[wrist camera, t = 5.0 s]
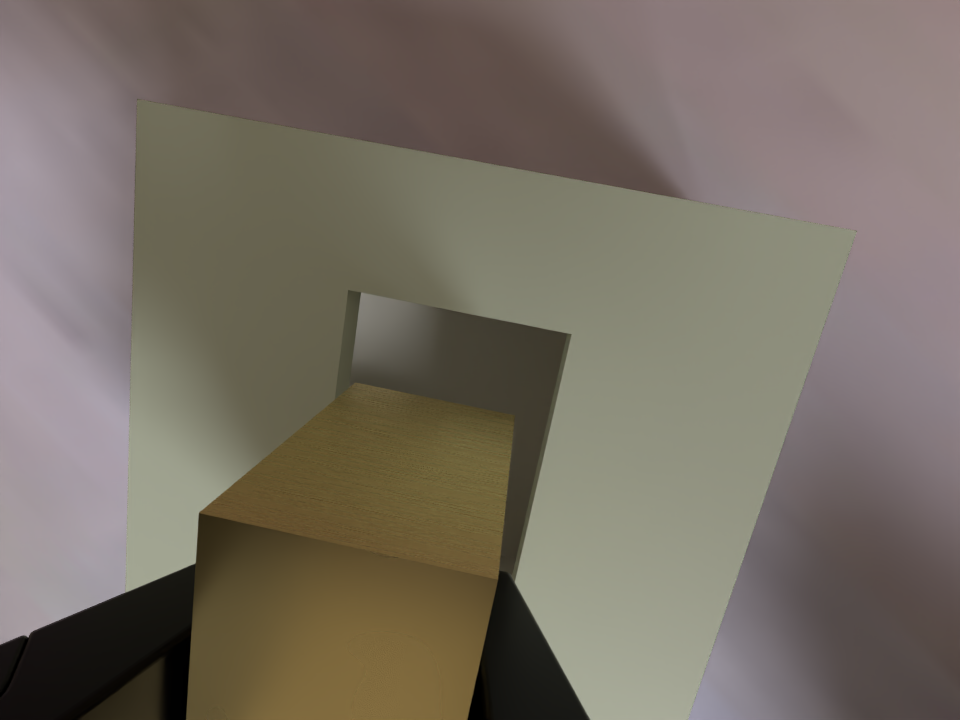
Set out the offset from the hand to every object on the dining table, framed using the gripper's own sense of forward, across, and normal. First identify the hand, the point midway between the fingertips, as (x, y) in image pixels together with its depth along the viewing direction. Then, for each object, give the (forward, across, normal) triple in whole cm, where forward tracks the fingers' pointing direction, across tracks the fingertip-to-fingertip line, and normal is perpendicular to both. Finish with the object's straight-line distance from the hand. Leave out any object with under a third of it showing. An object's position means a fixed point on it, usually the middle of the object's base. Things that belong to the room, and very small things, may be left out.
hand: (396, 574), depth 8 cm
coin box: (+10, 0, 0) cm, 10 cm away
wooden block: (+1, 0, 0) cm, 1 cm away
